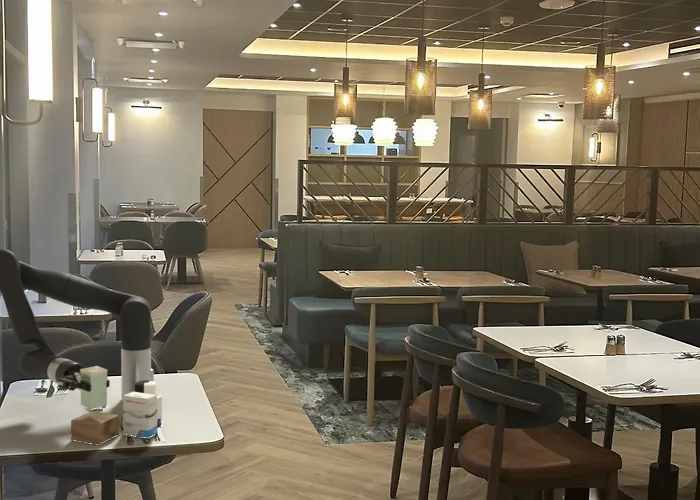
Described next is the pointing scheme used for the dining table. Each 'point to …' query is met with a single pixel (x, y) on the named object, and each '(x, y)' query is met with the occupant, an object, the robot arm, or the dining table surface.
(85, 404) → the tea tin
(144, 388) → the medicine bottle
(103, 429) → the walnut block
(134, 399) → the ink box
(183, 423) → the dining table surface
